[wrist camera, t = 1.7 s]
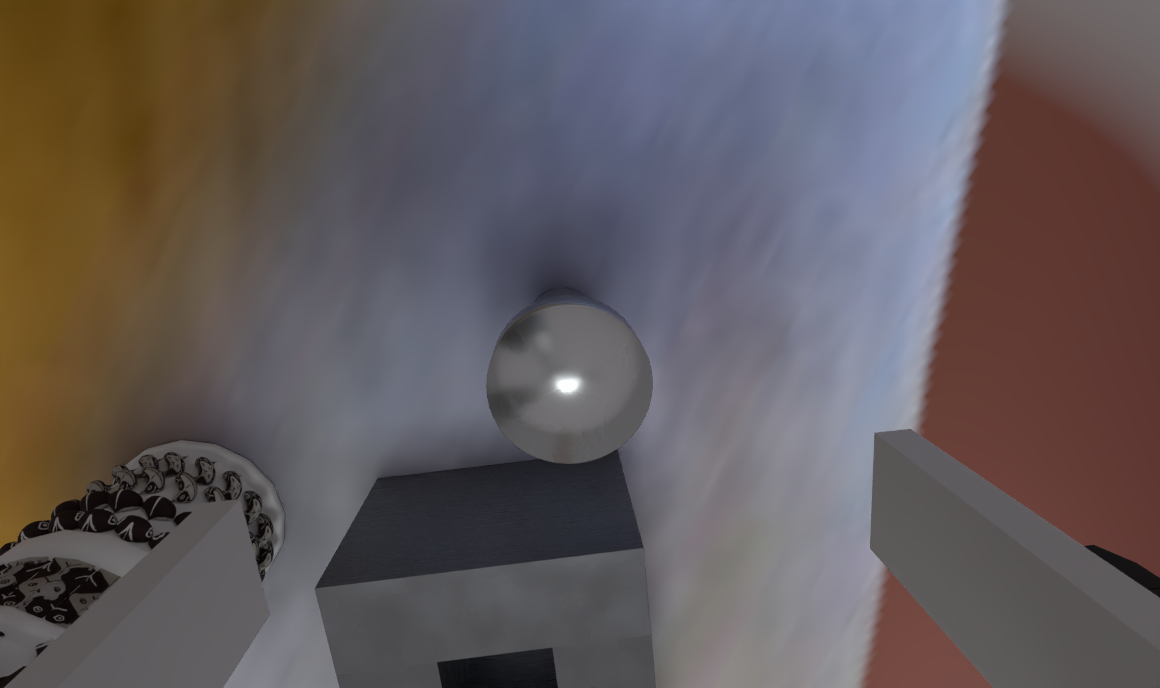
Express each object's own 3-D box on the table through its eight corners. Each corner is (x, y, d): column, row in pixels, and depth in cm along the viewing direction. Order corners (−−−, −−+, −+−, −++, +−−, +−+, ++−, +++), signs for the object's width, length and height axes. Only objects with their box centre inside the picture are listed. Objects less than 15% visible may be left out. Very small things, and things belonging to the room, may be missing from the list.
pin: (499, 270, 28) (474, 316, 18) (611, 257, 28) (646, 296, 19) (514, 377, 29) (498, 472, 20) (621, 365, 30) (658, 453, 20)
